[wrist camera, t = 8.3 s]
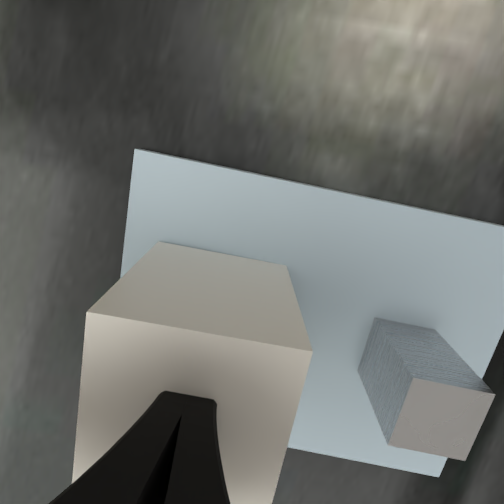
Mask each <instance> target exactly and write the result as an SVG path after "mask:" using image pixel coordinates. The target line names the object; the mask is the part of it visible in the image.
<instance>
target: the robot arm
mask: <svg viewBox="0 0 504 504" xmlns="http://www.w3.org/2000/svg"><path fill="white" fill-rule="evenodd" d="M49 504H230V500H229V496H228V492H227V487H226V483H225V478H224V472H223V467H222V461H221V456H220V450H219V442H218V433H217V403H216V402H215V400H214V399H209V398H203V397H198V396H192V395H187V394H181V393H176V392H170V391H163V392H161V393H160V394H159V395H158V396H157V398H156V399H155V400H154V401H153V403H152V404H151V405H150V406H149V407H148V409H147V410H146V411H145V412H144V413H143V414H142V416H141V417H140V418H139V419H138V420H137V421H136V422H135V423H134V424H133V425H132V427H131V428H130V429H129V430H128V431H127V432H126V433H125V434H124V435H123V436H122V437H121V438H120V439H119V440H118V441H117V442H116V443H115V444H114V445H113V446H112V447H111V448H110V449H109V450H108V451H107V452H106V453H105V454H104V455H103V456H102V457H101V458H100V459H99V460H98V461H96V462H95V463H94V464H93V465H92V466H91V467H90V468H89V469H88V470H87V471H86V472H84V473H83V474H82V475H81V476H80V477H79V478H78V479H77V480H76V481H75V482H74V483H72V484H71V485H70V486H69V487H68V488H67V489H65V490H64V491H63V492H62V493H61V494H60V495H58V496H57V497H56V498H55V499H54V500H52V501H51V502H50V503H49Z"/></svg>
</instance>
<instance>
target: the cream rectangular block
mask: <svg viewBox="0 0 504 504" xmlns="http://www.w3.org/2000/svg"><path fill="white" fill-rule="evenodd" d="M312 353H313V350H312V347H311V344H310V341H309V337H308V334H307V331H306V327H305V324H304V321H303V318H302V314H301V311H300V308H299V305H298V301H297V298H296V295H295V292H294V288H293V285H292V282H291V279H290V275H289V272H288V269H287V266H286V265H281V264H276V263H271V262H265V261H260V260H255V259H249V258H244V257H239V256H234V255H228V254H223V253H218V252H212V251H207V250H202V249H196V248H191V247H186V246H181V245H175V244H170V243H165V242H159V241H158V242H157V243H156V244H155V245H154V246H153V247H152V248H151V249H150V250H149V251H148V252H147V253H146V254H145V255H144V256H143V257H142V258H141V259H140V260H139V261H138V262H137V263H136V264H135V265H134V266H133V267H132V268H131V269H130V270H129V271H128V272H127V273H126V274H125V275H124V276H123V277H122V278H120V279H119V280H118V281H117V282H116V283H115V284H114V285H113V286H112V287H111V288H110V289H109V290H108V291H107V292H106V293H105V294H104V295H103V296H102V297H101V298H100V299H99V300H98V301H97V302H96V303H95V304H94V305H93V306H92V307H91V308H90V309H89V310H88V311H87V312H86V324H85V336H84V347H83V359H82V371H81V383H80V395H79V407H78V419H77V430H76V442H75V454H74V466H73V478H72V483H74V482H75V481H76V480H77V479H78V478H79V477H80V476H81V475H82V474H83V473H84V472H86V471H87V470H88V469H89V468H90V467H91V466H92V465H93V464H94V463H95V462H96V461H98V460H99V459H100V458H101V457H102V456H103V455H104V454H105V453H106V452H107V451H108V450H109V449H110V448H111V447H112V446H113V445H114V444H115V443H116V442H117V441H118V440H119V439H120V438H121V437H122V436H123V435H124V434H125V433H126V432H127V431H128V430H129V429H130V428H131V427H132V425H133V424H134V423H135V422H136V421H137V420H138V419H139V418H140V417H141V416H142V414H143V413H144V412H145V411H146V410H147V409H148V407H149V406H150V405H151V404H152V403H153V401H154V400H155V399H156V398H157V396H158V395H159V394H160V393H161V392H163V391H170V392H176V393H181V394H187V395H192V396H198V397H203V398H209V399H214V400H215V402H216V403H217V433H218V442H219V450H220V456H221V461H222V467H223V472H224V478H225V483H226V487H227V492H228V496H229V500H230V504H272V501H273V497H274V494H275V490H276V486H277V482H278V479H279V475H280V471H281V468H282V464H283V460H284V457H285V453H286V449H287V446H288V442H289V438H290V434H291V431H292V427H293V423H294V420H295V416H296V412H297V409H298V405H299V401H300V398H301V394H302V390H303V387H304V383H305V379H306V375H307V372H308V368H309V364H310V361H311V357H312Z"/></svg>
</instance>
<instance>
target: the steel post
mask: <svg viewBox="0 0 504 504" xmlns="http://www.w3.org/2000/svg"><path fill="white" fill-rule="evenodd" d="M357 371H358V373H359V376H360V378H361V381H362V383H363V385H364V388H365V390H366V393H367V395H368V398H369V400H370V403H371V405H372V408H373V410H374V413H375V415H376V418H377V420H378V422H379V425H380V427H381V430H382V432H383V435H384V437H385V440H386V442H387V445H388V446H393V447H398V448H403V449H408V450H413V451H418V452H423V453H428V454H433V455H438V456H443V457H448V458H453V459H458V460H463V461H465V460H466V458H467V456H468V454H469V451H470V449H471V447H472V445H473V443H474V441H475V438H476V436H477V434H478V432H479V430H480V427H481V425H482V423H483V421H484V419H485V416H486V414H487V412H488V410H489V408H490V406H491V403H492V401H493V399H494V397H495V395H496V394H495V393H494V392H493V391H492V390H491V389H490V388H489V387H488V386H487V385H486V384H485V383H484V382H483V380H482V379H481V378H480V377H479V376H478V375H477V374H476V373H475V372H474V371H473V370H472V369H471V367H470V366H469V365H468V364H467V363H466V362H465V361H464V360H463V359H462V358H461V357H460V356H459V355H458V353H457V352H456V351H455V350H454V349H453V348H452V347H451V346H450V345H449V344H448V343H447V342H446V341H445V339H444V338H443V337H442V336H441V335H440V334H439V333H438V332H437V331H436V330H435V329H430V328H425V327H420V326H415V325H410V324H406V323H401V322H396V321H391V320H386V319H381V318H376V317H375V318H374V321H373V324H372V327H371V330H370V333H369V336H368V339H367V342H366V346H365V349H364V352H363V355H362V358H361V361H360V364H359V367H358V370H357Z"/></svg>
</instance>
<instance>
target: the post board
mask: <svg viewBox="0 0 504 504" xmlns="http://www.w3.org/2000/svg"><path fill="white" fill-rule="evenodd" d="M158 241H159V242H165V243H170V244H175V245H181V246H186V247H191V248H196V249H202V250H207V251H212V252H218V253H223V254H228V255H234V256H239V257H244V258H249V259H255V260H260V261H265V262H271V263H276V264H281V265H286V266H287V269H288V272H289V275H290V279H291V282H292V285H293V288H294V292H295V295H296V298H297V301H298V305H299V308H300V311H301V314H302V318H303V321H304V324H305V327H306V331H307V334H308V337H309V341H310V344H311V347H312V350H313V353H312V357H311V361H310V364H309V368H308V372H307V375H306V379H305V383H304V387H303V390H302V394H301V398H300V401H299V405H298V409H297V412H296V416H295V420H294V423H293V427H292V431H291V434H290V438H289V442H288V446H287V447H289V448H294V449H299V450H304V451H309V452H315V453H320V454H325V455H330V456H335V457H340V458H345V459H350V460H355V461H360V462H365V463H370V464H375V465H380V466H385V467H390V468H395V469H400V470H405V471H410V472H415V473H420V474H425V475H430V476H435V477H439V476H440V474H441V471H442V469H443V467H444V464H445V462H446V460H447V458H448V457H443V456H438V455H433V454H428V453H423V452H418V451H413V450H408V449H403V448H398V447H393V446H388V445H387V442H386V440H385V437H384V435H383V432H382V430H381V427H380V425H379V422H378V420H377V418H376V415H375V413H374V410H373V408H372V405H371V403H370V400H369V398H368V395H367V393H366V390H365V388H364V385H363V383H362V381H361V378H360V376H359V373H358V371H357V370H358V367H359V364H360V361H361V358H362V355H363V352H364V349H365V346H366V342H367V339H368V336H369V333H370V330H371V327H372V324H373V321H374V318H375V317H376V318H381V319H386V320H391V321H396V322H401V323H406V324H410V325H415V326H420V327H425V328H430V329H435V330H436V331H437V332H438V333H439V334H440V335H441V336H442V337H443V338H444V339H445V341H446V342H447V343H448V344H449V345H450V346H451V347H452V348H453V349H454V350H455V351H456V352H457V353H458V355H459V356H460V357H461V358H462V359H463V360H464V361H465V362H466V363H467V364H468V365H469V366H470V367H471V369H472V370H473V371H474V372H475V373H476V374H477V375H478V376H479V377H480V378H481V379H482V378H483V376H484V373H485V371H486V369H487V366H488V364H489V362H490V360H491V357H492V355H493V353H494V351H495V348H496V346H497V344H498V341H499V339H500V337H501V335H502V332H503V330H504V225H500V224H495V223H490V222H485V221H481V220H476V219H471V218H466V217H462V216H457V215H452V214H447V213H443V212H438V211H433V210H429V209H424V208H419V207H414V206H410V205H405V204H400V203H395V202H391V201H386V200H381V199H376V198H372V197H367V196H362V195H358V194H353V193H348V192H343V191H339V190H334V189H329V188H324V187H320V186H315V185H310V184H305V183H301V182H296V181H291V180H286V179H282V178H277V177H272V176H268V175H263V174H258V173H253V172H249V171H244V170H239V169H234V168H230V167H225V166H220V165H215V164H211V163H206V162H201V161H197V160H192V159H187V158H182V157H178V156H173V155H168V154H163V153H159V152H154V151H149V150H144V149H135V150H134V159H133V168H132V177H131V186H130V195H129V204H128V213H127V222H126V231H125V240H124V249H123V258H122V267H121V276H120V278H122V277H123V276H124V275H125V274H126V273H127V272H128V271H129V270H130V269H131V268H132V267H133V266H134V265H135V264H136V263H137V262H138V261H139V260H140V259H141V258H142V257H143V256H144V255H145V254H146V253H147V252H148V251H149V250H150V249H151V248H152V247H153V246H154V245H155V244H156V243H157V242H158Z"/></svg>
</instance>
